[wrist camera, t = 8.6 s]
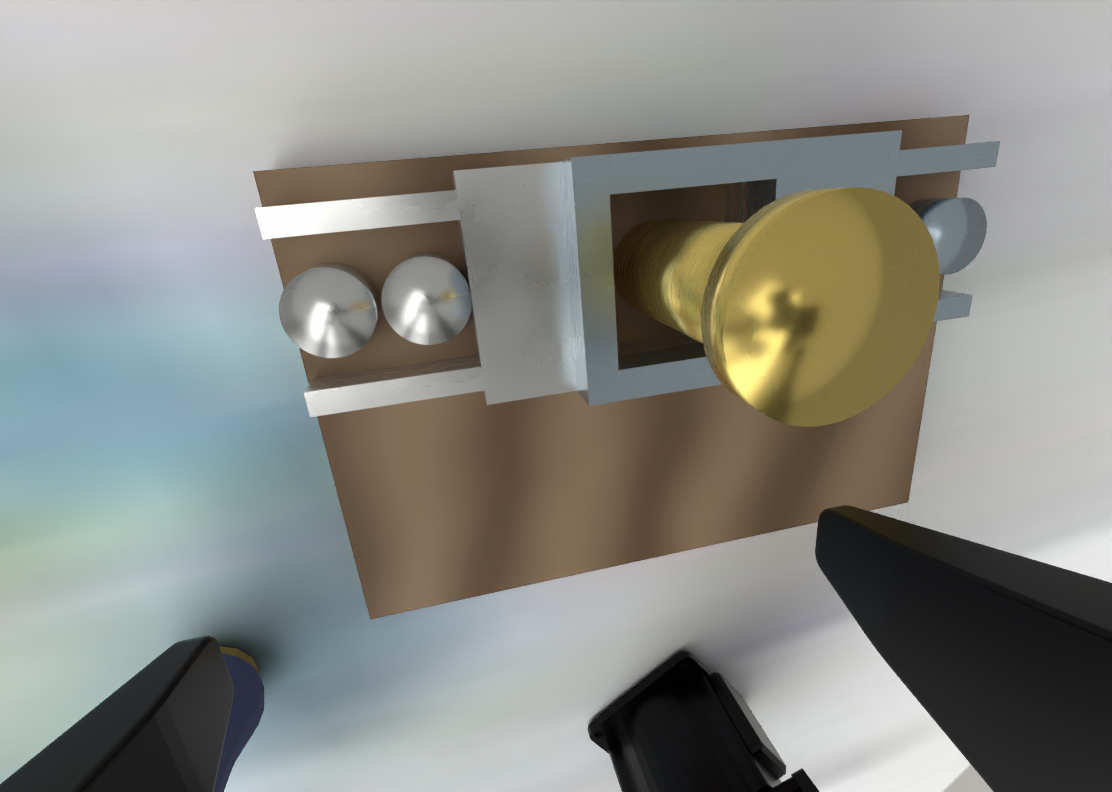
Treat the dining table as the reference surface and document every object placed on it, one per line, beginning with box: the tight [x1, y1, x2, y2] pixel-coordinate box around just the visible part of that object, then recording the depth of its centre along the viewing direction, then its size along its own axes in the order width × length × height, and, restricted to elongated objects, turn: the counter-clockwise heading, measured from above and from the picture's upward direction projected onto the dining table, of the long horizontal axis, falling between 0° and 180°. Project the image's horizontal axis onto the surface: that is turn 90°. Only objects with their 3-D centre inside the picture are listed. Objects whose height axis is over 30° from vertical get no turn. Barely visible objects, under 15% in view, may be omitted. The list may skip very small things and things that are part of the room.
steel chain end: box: [255, 162, 748, 417], centre depth 17 cm, size 15×7×2 cm, turn 95°
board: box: [253, 115, 969, 619], centre depth 21 cm, size 24×16×2 cm, turn 95°
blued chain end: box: [559, 130, 1000, 406], centre depth 18 cm, size 15×7×3 cm, turn 95°
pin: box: [613, 187, 940, 427], centre depth 15 cm, size 5×5×9 cm
